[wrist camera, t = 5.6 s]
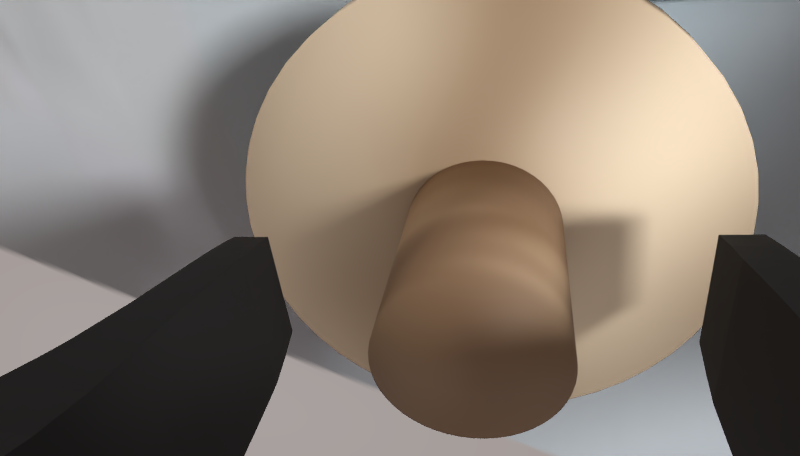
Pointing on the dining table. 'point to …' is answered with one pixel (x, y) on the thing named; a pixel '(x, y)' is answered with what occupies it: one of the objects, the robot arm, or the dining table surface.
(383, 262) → the lid
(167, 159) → the dining table surface
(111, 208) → the dining table surface
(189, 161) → the dining table surface
